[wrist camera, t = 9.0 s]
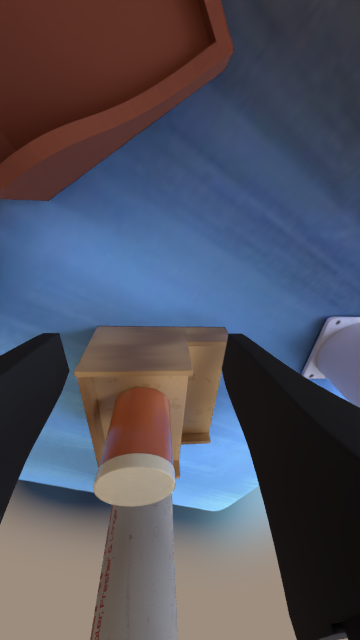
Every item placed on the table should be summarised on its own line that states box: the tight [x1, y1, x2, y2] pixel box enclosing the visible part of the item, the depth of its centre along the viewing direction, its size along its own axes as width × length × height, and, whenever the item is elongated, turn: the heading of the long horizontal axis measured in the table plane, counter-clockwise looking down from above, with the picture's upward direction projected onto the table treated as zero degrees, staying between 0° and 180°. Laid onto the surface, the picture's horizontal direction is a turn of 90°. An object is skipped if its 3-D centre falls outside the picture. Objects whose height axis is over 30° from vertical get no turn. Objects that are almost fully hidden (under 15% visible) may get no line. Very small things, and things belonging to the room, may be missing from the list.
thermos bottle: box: [90, 493, 178, 640], centre depth 19 cm, size 8×8×28 cm
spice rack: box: [74, 326, 228, 479], centre depth 20 cm, size 12×15×6 cm
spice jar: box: [93, 387, 175, 507], centre depth 15 cm, size 5×5×6 cm
